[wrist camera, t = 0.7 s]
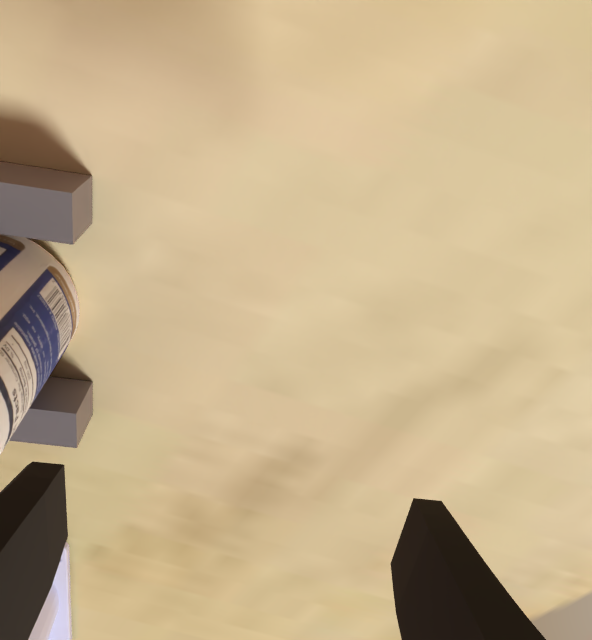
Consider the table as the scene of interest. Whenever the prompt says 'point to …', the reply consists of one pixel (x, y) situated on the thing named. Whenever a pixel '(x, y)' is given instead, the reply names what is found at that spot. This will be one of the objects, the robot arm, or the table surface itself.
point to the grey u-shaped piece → (57, 226)
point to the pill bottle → (30, 325)
